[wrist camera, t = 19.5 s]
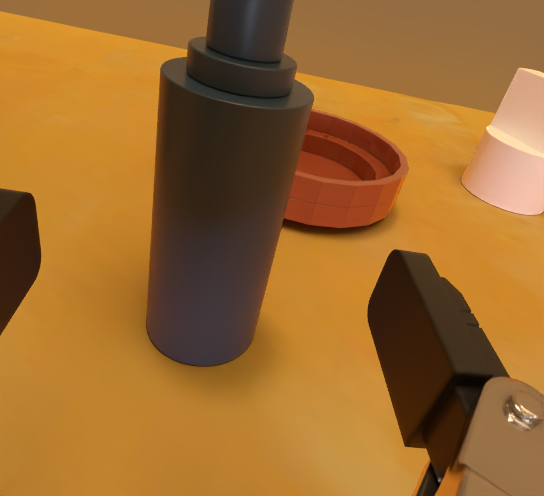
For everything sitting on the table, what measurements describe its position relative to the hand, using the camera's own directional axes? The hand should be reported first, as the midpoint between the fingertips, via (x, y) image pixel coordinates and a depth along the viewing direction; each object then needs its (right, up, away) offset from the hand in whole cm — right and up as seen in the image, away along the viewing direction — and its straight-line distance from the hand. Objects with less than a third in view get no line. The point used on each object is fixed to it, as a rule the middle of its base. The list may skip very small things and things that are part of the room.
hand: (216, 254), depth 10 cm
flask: (-3, -4, +14) cm, 15 cm away
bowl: (+4, +6, +30) cm, 31 cm away
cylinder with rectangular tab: (+27, +6, +39) cm, 47 cm away
